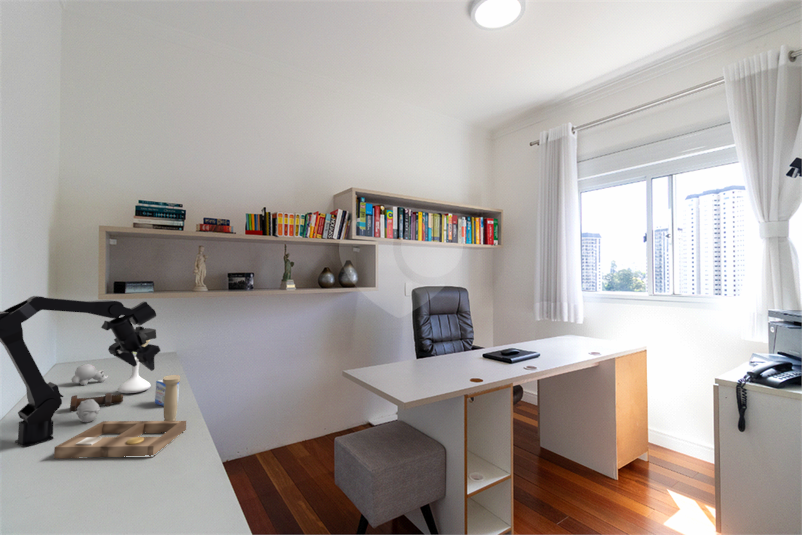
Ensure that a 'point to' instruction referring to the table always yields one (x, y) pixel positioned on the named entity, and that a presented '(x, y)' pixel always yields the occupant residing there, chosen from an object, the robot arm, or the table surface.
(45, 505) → the table surface
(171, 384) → the handle
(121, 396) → the bolt
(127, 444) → the socket board
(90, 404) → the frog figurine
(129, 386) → the flower in vase
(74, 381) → the chubby cartoon animal
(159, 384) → the medicine box
